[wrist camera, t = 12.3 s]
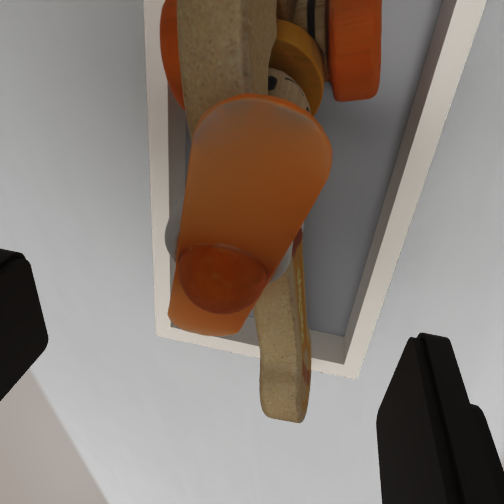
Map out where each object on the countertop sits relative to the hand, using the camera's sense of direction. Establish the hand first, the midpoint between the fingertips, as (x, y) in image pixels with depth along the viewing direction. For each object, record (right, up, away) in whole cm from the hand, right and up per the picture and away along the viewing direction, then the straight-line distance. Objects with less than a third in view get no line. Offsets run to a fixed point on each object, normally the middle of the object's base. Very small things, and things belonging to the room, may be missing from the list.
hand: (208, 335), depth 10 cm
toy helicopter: (+3, +7, +12) cm, 14 cm away
